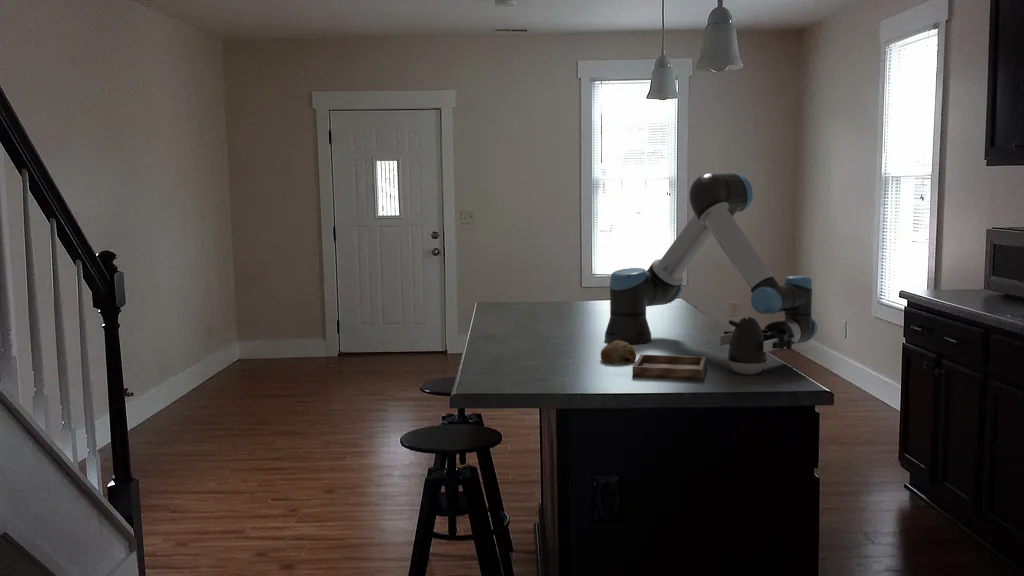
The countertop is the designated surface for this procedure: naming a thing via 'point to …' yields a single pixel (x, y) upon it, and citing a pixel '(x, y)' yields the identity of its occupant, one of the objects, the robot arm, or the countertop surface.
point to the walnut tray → (669, 367)
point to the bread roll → (618, 353)
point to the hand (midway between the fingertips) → (741, 343)
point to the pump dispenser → (747, 347)
